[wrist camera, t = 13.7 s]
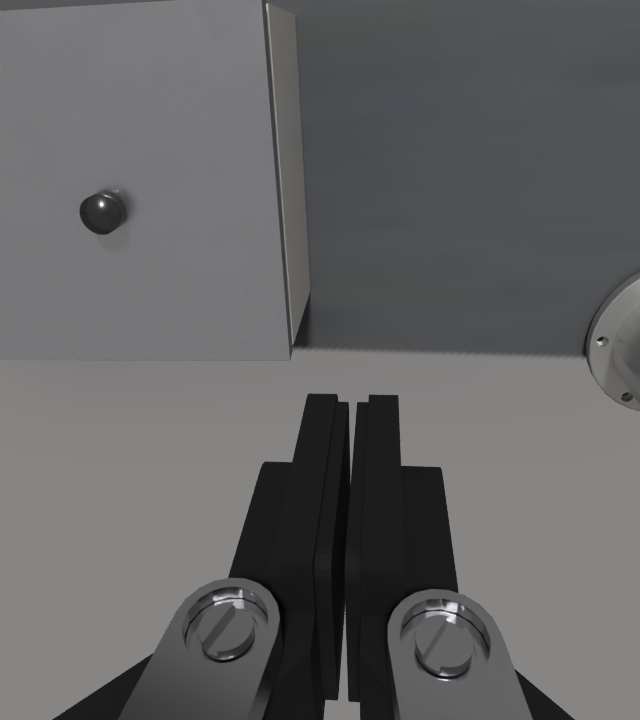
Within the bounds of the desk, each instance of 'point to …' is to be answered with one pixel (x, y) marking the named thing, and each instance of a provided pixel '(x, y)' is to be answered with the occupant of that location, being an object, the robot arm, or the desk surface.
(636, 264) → the desk surface
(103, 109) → the lid
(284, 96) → the white open box
